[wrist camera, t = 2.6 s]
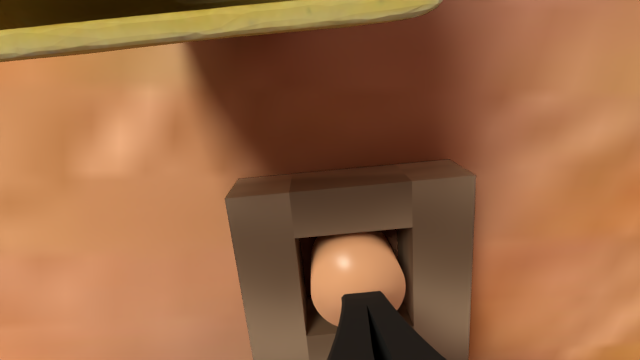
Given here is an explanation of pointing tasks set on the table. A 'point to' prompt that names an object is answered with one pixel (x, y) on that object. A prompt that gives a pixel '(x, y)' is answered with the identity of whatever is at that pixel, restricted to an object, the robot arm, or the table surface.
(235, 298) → the table surface
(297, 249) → the button board
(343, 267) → the orange button
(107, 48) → the flower pot
